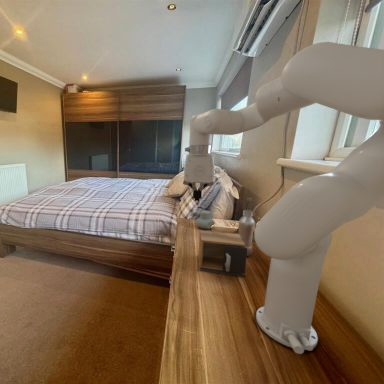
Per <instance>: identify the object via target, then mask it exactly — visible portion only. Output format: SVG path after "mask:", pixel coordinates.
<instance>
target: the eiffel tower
mask: <svg viewBox="0 0 384 384" xmlns="http://www.w3.org/2000/svg"><path fill="white" fill-rule="evenodd" d="M248 193H249V194H248V197H247V198H246V199H245V201H247V202H246V207H245V210H251V201H252V198H251V197H250V194H251V193H250V192H248ZM236 230H237V231H236ZM236 230H234V234H239V227H238V228H236ZM254 232H255V230H254ZM254 232H253V237H252V242H254V243H256V242H255V237H254Z"/></svg>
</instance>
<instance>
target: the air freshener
mask: <svg viewBox="0 0 384 384" xmlns="http://www.w3.org/2000/svg"><path fill="white" fill-rule="evenodd" d="M211 217H212V212H211V211H210V210H205V209H203V210H200V212H199V217H198V218H196V219H195V220H194V221H195V225H196V226H197V227H198V228H199V229H203V230H210V229H212V228H211V226H212V225H214V224H216V223H215V221H214V219H212V218H211ZM214 226H215V225H214Z"/></svg>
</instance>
